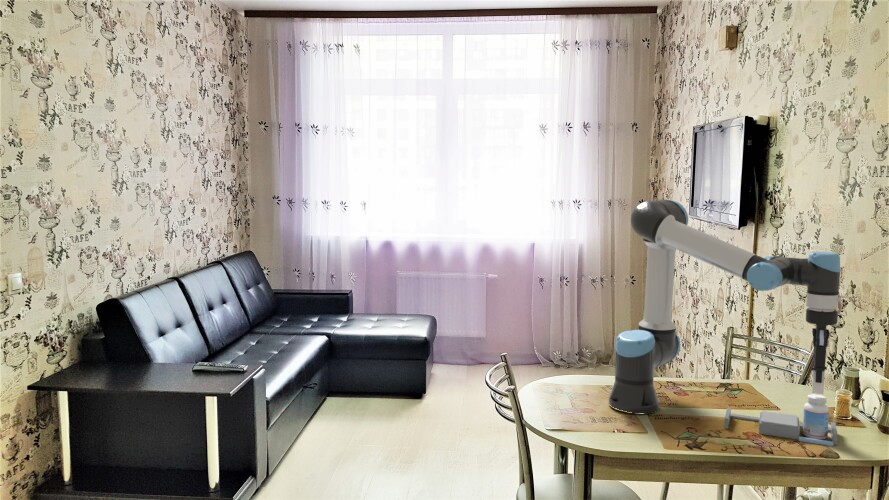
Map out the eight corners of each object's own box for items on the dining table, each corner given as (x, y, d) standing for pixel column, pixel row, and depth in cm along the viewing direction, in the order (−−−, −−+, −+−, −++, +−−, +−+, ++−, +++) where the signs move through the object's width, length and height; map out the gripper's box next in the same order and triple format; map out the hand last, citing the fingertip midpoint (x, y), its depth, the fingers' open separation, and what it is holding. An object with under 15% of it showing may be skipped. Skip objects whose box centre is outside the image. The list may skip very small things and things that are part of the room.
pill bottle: (830, 440, 180) (833, 401, 178) (806, 439, 181) (808, 399, 180) (822, 432, 186) (825, 393, 184) (799, 430, 187) (801, 392, 186)
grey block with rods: (723, 429, 188) (724, 417, 188) (727, 414, 200) (727, 403, 199) (837, 446, 176) (838, 433, 175) (834, 430, 187) (834, 418, 187)
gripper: (839, 314, 172) (834, 402, 174) (836, 305, 183) (831, 388, 186) (807, 312, 175) (802, 397, 178) (805, 303, 187) (801, 384, 189)
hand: (817, 392), depth 182 cm, fingers closed
